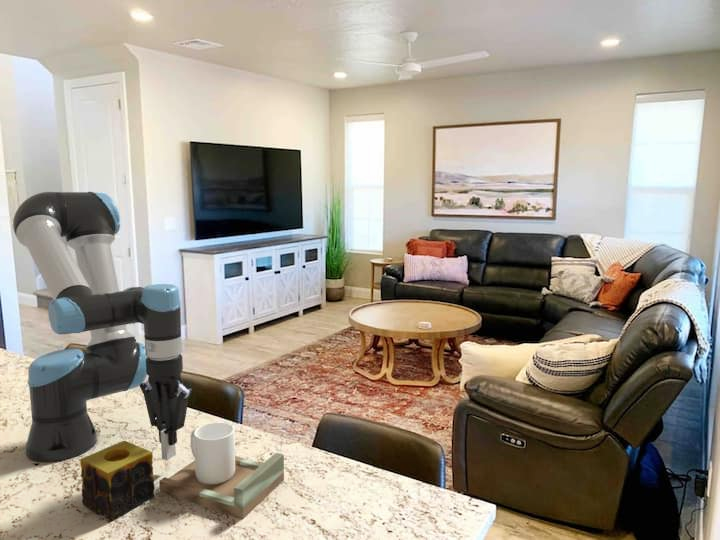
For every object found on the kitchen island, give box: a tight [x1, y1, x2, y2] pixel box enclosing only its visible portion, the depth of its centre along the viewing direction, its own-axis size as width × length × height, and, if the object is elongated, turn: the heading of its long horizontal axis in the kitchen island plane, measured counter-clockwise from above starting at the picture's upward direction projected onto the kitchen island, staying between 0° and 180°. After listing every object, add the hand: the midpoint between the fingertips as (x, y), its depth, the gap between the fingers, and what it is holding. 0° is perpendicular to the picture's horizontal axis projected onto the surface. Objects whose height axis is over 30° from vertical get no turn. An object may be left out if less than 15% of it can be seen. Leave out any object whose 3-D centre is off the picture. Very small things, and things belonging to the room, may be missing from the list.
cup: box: [190, 421, 236, 485], centre depth 113 cm, size 8×12×10 cm
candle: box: [79, 440, 155, 522], centre depth 105 cm, size 10×10×10 cm
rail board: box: [158, 452, 285, 519], centre depth 111 cm, size 21×15×6 cm
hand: (168, 456), depth 117 cm, fingers closed
